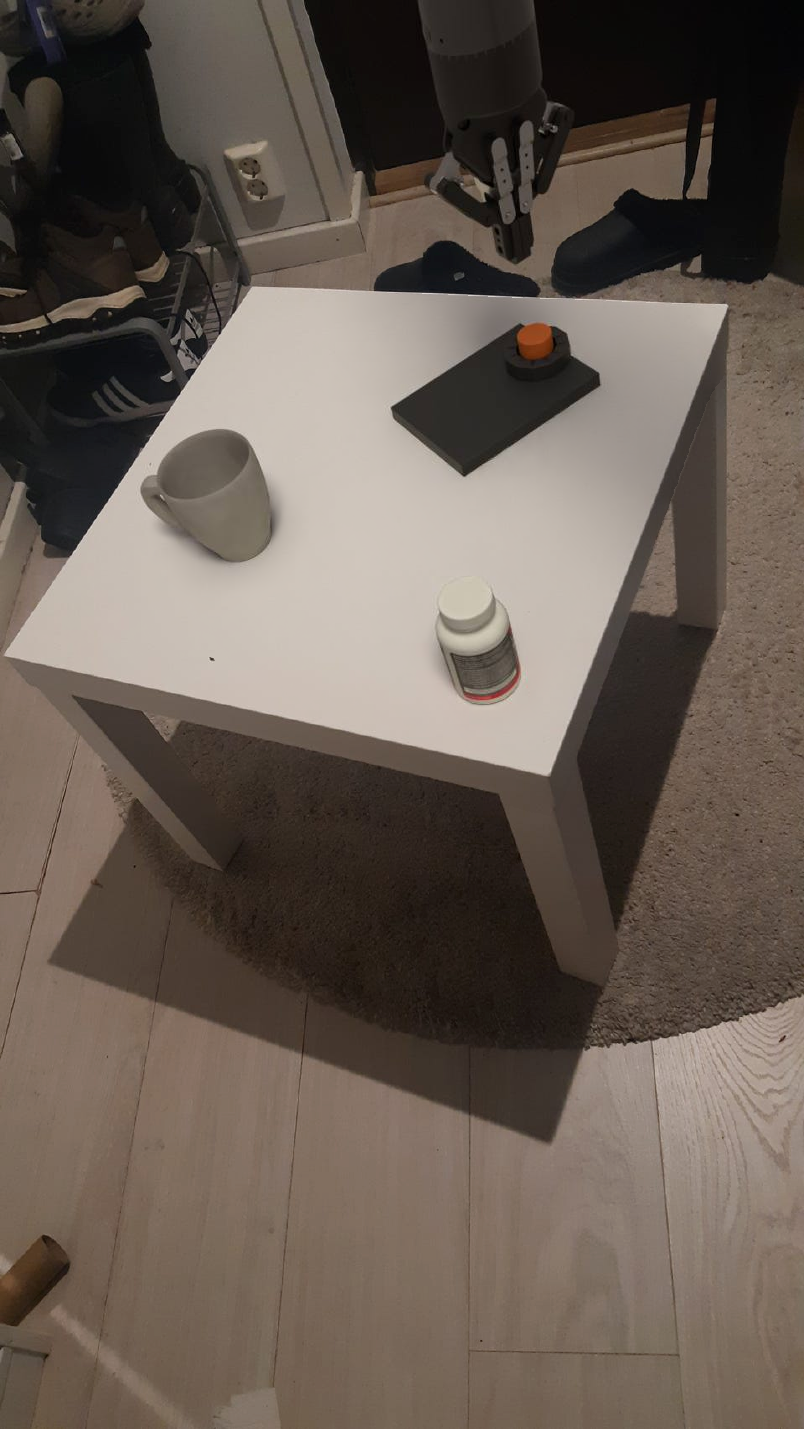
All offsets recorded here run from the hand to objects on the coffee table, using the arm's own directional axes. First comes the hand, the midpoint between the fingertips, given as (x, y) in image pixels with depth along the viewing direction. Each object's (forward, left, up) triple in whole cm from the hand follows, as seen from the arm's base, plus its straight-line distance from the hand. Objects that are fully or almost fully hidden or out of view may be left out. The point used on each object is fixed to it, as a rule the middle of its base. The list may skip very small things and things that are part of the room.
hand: (517, 257), depth 81 cm
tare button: (+1, -4, -12) cm, 13 cm away
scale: (+4, 0, -15) cm, 16 cm away
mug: (+27, +17, -15) cm, 35 cm away
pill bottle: (0, +32, -15) cm, 35 cm away
